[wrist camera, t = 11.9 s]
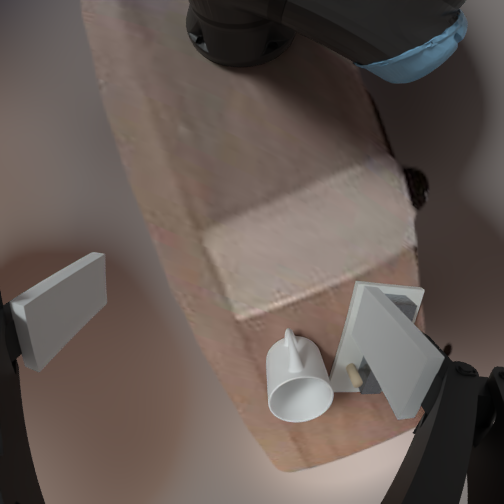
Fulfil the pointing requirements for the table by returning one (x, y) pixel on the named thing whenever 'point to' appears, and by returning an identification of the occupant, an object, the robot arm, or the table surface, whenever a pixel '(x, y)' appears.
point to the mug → (297, 379)
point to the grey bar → (364, 370)
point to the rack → (348, 351)
